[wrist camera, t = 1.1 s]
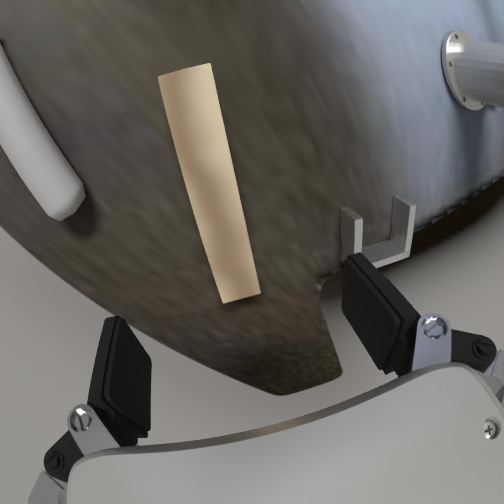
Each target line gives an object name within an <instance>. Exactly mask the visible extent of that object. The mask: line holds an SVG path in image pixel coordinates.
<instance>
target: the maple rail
mask: <svg viewBox="0 0 504 504" xmlns="http://www.w3.org/2000/svg"><path fill="white" fill-rule="evenodd" d="M158 80H159V85H160V89H161V93H162V97H163V102H164V106H165V110H166V114H167V118H168V122H169V126H170V130H171V133H172V137H173V141H174V145H175V149H176V152H177V156H178V160H179V163H180V167H181V170H182V174H183V178H184V181H185V185H186V188H187V191H188V195H189V198H190V202H191V205H192V208H193V212H194V215H195V218H196V222H197V225H198V228H199V231H200V235H201V238H202V241H203V244H204V247H205V250H206V254H207V257H208V260H209V263H210V266H211V269H212V272H213V275H214V278H215V281H216V284H217V287H218V290H219V293H220V296H221V299H222V302H223V303H227V302H231V301H234V300H238V299H242V298H246V297H249V296H253V295H256V294H260V293H261V292H260V288H259V283H258V279H257V274H256V270H255V265H254V261H253V256H252V251H251V247H250V242H249V238H248V233H247V229H246V224H245V219H244V215H243V210H242V206H241V201H240V197H239V192H238V187H237V183H236V178H235V174H234V169H233V165H232V160H231V155H230V151H229V146H228V142H227V137H226V133H225V128H224V123H223V119H222V114H221V110H220V105H219V101H218V96H217V91H216V87H215V82H214V78H213V73H212V69H211V64H210V63H208V64H203V65H199V66H195V67H190V68H186V69H183V70H179V71H175V72H171V73H168V74H164V75H161V76H158Z"/></svg>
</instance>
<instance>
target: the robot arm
mask: <svg viewBox="0 0 504 504" xmlns="http://www.w3.org/2000/svg"><path fill="white" fill-rule="evenodd" d="M442 64H443V69H444V74H445V77H446V81H447V83H448V86H449V88H450V90H451V92H452V94H453V96H454V97H455V99H456V100H457V101H458V102H459V103H460V104H461V106H463V107H464V108H466V109H469V110H474V111H476V110H480V109H481V108H483V106H484V105H485V104H489V105H493V106H497V107H500V108H504V43H498V42H487V41H475V40H474V39H473V38H472V37H471V36H470V35H469V34H467V33H465V32H463V31H451V32H449V33H448V34H447V35H446V37H445V38H444V41H443V45H442ZM342 311H343V313H344V315H345V317H346V318H347V320H348V321H349V323H350V325H351V326H352V327H353V329H354V331H355V332H356V334H357V335H358V337H359V339H360V340H361V342H362V344H363V345H364V347H365V348H366V350H367V352H368V353H369V355H370V357H371V358H372V360H373V361H374V363H375V365H376V366H377V368H378V369H379V370H383V371H384V373H385V375H386V374H388V373H390V372H393V371H395V372H396V374H397V375H398V378H397V379H394V380H392V381H390V382H388V383H386V384H384V385H381V386H379V387H377V388H375V389H373V390H370V391H368V392H365V393H363V394H361V395H358V396H356V397H354V398H351V399H349V400H346V401H344V402H341V403H338V404H336V405H333V406H330V407H328V408H325V409H322V410H320V411H316V412H313V413H310V414H307V415H304V416H301V417H298V418H295V419H291V420H288V421H284V422H281V423H277V424H274V425H270V426H266V427H262V428H258V429H254V430H249V431H245V432H240V433H235V434H230V435H225V436H220V437H214V438H208V439H201V440H194V441H187V442H178V443H169V444H158V445H144V446H139V445H138V444H137V443H138V438H147V437H148V431H150V429H151V419H150V418H151V414H150V413H151V369H152V362H151V359H150V357H149V355H148V354H147V352H146V351H145V349H144V348H143V346H142V345H141V344H140V342H139V341H138V339H137V338H136V336H135V335H134V333H133V332H132V330H131V329H130V327H129V325H128V324H127V322H126V321H125V319H124V318H120V317H119V316H113V317H109V318H106V319H105V321H104V325H103V329H102V333H101V337H100V341H99V345H98V349H97V354H96V358H95V363H94V368H93V373H92V378H91V383H90V390H89V395H88V401H87V405H86V404H81V405H77V406H76V407H74V408H73V409H72V410H71V412H70V413H69V415H68V419H67V425H68V428H69V430H68V431H67V432H66V433H65V434H64V435H63V436H62V437H61V438H60V439H59V440H58V441H57V442H56V443H55V444H54V445H53V446H52V447H51V448H50V449H49V450H48V451H47V453H46V454H45V457H44V466H45V471H42V472H41V473H40V476H39V477H38V479H37V481H36V483H35V485H34V487H33V489H32V492H31V494H30V496H29V499H28V504H504V351H503V350H501V349H500V350H499V351H497V350H496V346H495V344H494V343H493V341H492V340H491V339H489V338H488V337H485V336H482V335H477V334H472V333H467V332H463V331H458V330H453V329H451V326H450V323H449V322H448V320H447V319H446V318H444V317H443V316H441V315H439V314H436V313H429V314H425V315H423V316H422V317H421V316H420V315H419V313H418V312H417V311H416V310H415V309H414V308H413V306H412V305H411V304H410V303H409V302H408V301H407V300H406V298H405V297H404V296H403V295H402V294H401V293H400V292H399V291H398V290H397V288H396V287H395V286H394V285H393V284H392V283H391V282H390V281H389V280H388V279H387V278H386V277H384V276H383V275H382V274H381V273H380V272H379V271H378V270H377V269H376V267H375V266H374V265H373V264H372V263H371V262H370V261H369V260H368V259H367V258H366V257H365V256H364V255H363V254H362V253H361V252H358V253H355V254H351V255H348V256H347V258H346V260H344V262H343V288H342Z"/></svg>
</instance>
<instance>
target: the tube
mask: <svg viewBox="0 0 504 504" xmlns="http://www.w3.org/2000/svg"><path fill="white" fill-rule="evenodd" d="M0 144H1V146H2V148H3V149H4V151H5V153H6V155H7V156H8V158H9V159H10V161H11V163H12V164H13V166H14V167H15V169H16V171H17V172H18V174H19V175H20V177H21V178H22V180H23V181H24V183H25V184H26V186H27V187H28V188H29V190H30V191H31V193H32V194H33V196H34V197H35V198H36V200H37V201H38V202H39V204H40V205H41V207H42V208H43V209H44V211H45V212H46V213H47V214H48V216H50V217H52V218H54V219H56V220H58V221H62V220H63V219H65V218H67V217H68V216H70V215H72V214H74V213H75V212H76V210H77V209H78V207H79V206H80V205H81V203H82V202H83V200H84V199H85V197H86V196H85V192H84V187H83V183H82V181H81V180H80V178H79V177H78V176H77V174H76V173H75V171H74V170H73V169H72V167H71V166H70V164H69V163H68V161H67V160H66V159H65V157H64V156H63V154H62V153H61V151H60V150H59V148H58V147H57V145H56V144H55V142H54V140H53V139H52V137H51V136H50V134H49V133H48V131H47V129H46V128H45V126H44V125H43V123H42V121H41V120H40V118H39V116H38V115H37V113H36V111H35V110H34V108H33V106H32V104H31V103H30V101H29V99H28V97H27V96H26V94H25V92H24V90H23V88H22V86H21V84H20V83H19V81H18V79H17V77H16V75H15V73H14V71H13V69H12V67H11V65H10V63H9V61H8V58H7V56H6V54H5V52H4V50H3V48H2V45H1V43H0Z"/></svg>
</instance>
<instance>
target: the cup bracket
mask: <svg viewBox="0 0 504 504" xmlns="http://www.w3.org/2000/svg"><path fill="white" fill-rule="evenodd" d="M415 209H416V205H415V204H414V203H412V202H410V201H409V200H407V199H406V198H404V197H402V196H401V195H394V196H393V208H392V223H391V234H390V240H386V241H383V242H380V243H376V244H373V245H370V246H367V247H363V248H362V229H363V218H362V217H361V216H359V215H358V214H357V213H356V212H354V211H353V210H352V209H351V208H349V207H348V206H345V207H341V208H340V234H341V259H340V261H341V262H342V263H343V262H344V260H346V258H347V256H348V255H351V254H355V253H358V252H361V253H362V254H363V255H364V256H365V257H366V258H367V259H368V260H369V261H370V262H371V263H372V264H373V265H374V266H375V267H376V268H378V267H381V266H384V265H387V264H390V263H393V262H395V261H398V260H401V259H404V258H406V257H409V254H410V248H411V242H412V235H413V227H414V219H415Z"/></svg>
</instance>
